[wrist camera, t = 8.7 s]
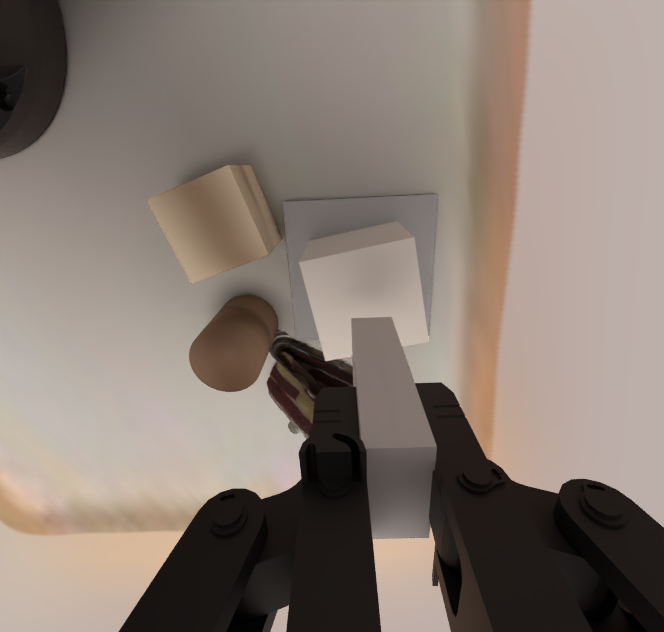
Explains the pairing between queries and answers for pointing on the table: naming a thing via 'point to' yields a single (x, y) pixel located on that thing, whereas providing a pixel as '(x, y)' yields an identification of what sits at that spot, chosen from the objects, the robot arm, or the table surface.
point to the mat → (350, 215)
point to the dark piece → (302, 379)
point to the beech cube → (216, 221)
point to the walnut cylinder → (235, 344)
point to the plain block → (364, 285)
